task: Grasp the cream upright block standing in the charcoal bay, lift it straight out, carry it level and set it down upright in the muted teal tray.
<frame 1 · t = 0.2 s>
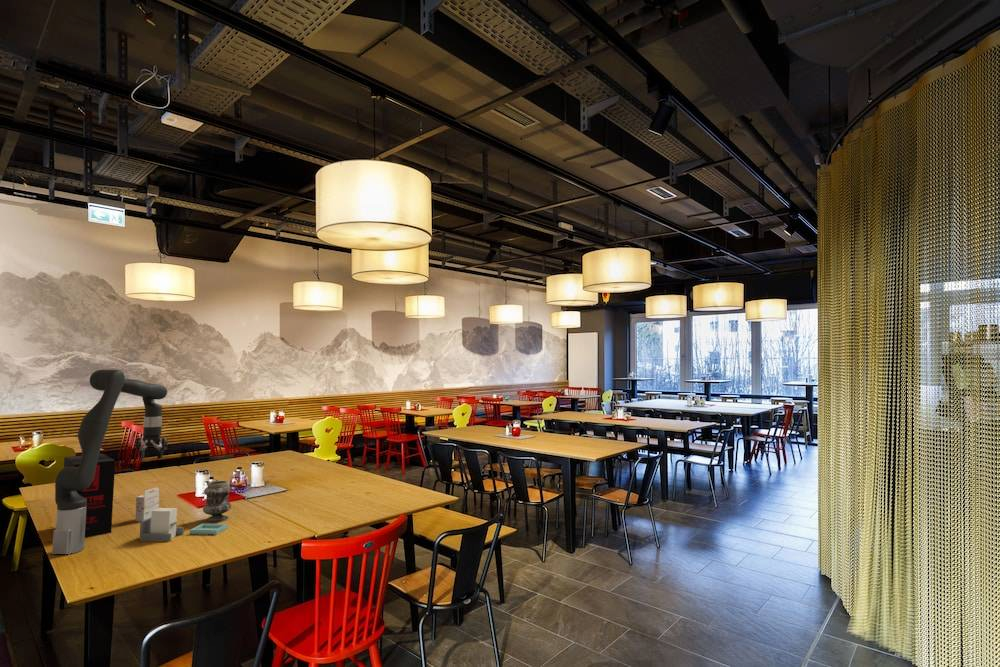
hand: (150, 458, 253), 29 cm above the table, fingers open, 8 cm apart
bay: (163, 537, 224), on the table
cream upright block: (163, 537, 224), resting in bay
apothecary jar: (216, 519, 251), on the table
tray: (209, 531, 233), on the table
product box: (85, 530, 233), on the table
ink cartridge box: (146, 519, 250), on the table
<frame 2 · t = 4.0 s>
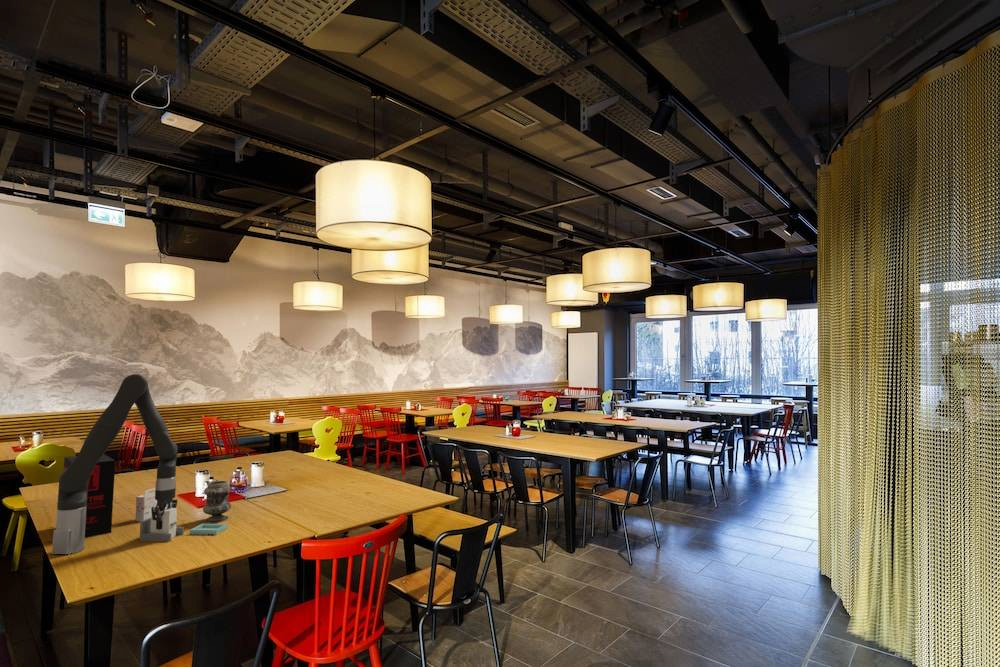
hand: (163, 527, 224), 4 cm above the table, fingers closed on cream upright block, 5 cm apart
cream upright block: (163, 537, 224), resting in bay, touching gripper
everything else where it was.
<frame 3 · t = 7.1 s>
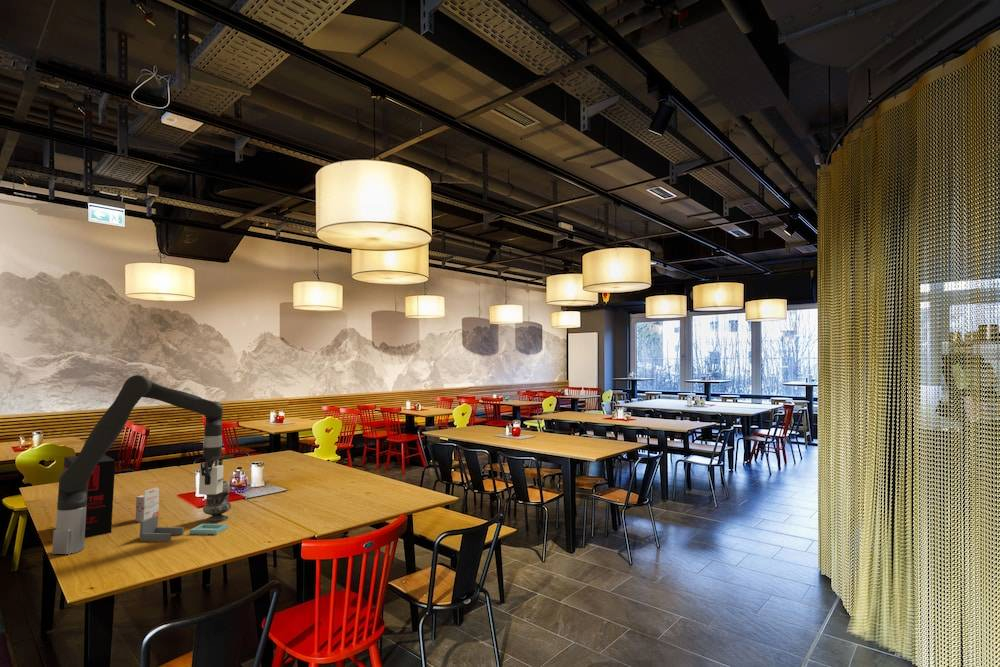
hand: (211, 483, 234), 22 cm above the table, fingers closed on cream upright block, 5 cm apart
cream upright block: (210, 493, 234), point 17 cm above the table, touching gripper
everything else where it was.
when the fingers open (6 cm above the table, at t = 10.4 s): cream upright block drops 1 cm, resting on tray.
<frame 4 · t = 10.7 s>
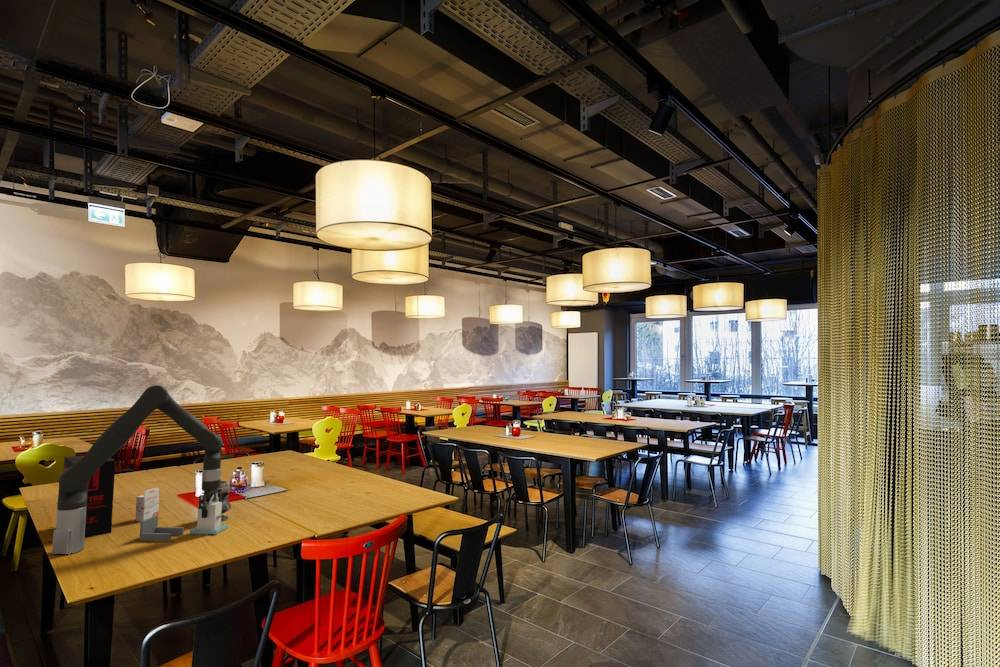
hand: (209, 515, 233), 7 cm above the table, fingers open, 8 cm apart
cream upright block: (208, 530, 233), point 1 cm above the table, touching tray
everything else where it was.
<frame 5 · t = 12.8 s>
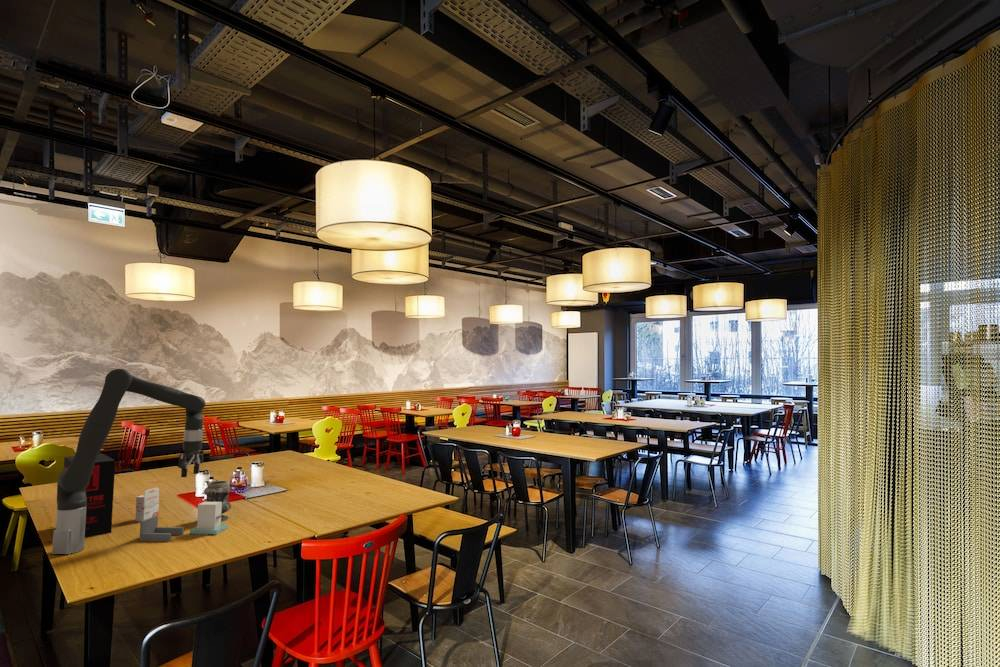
hand: (190, 475, 235), 25 cm above the table, fingers open, 8 cm apart
nothing on the table moved.
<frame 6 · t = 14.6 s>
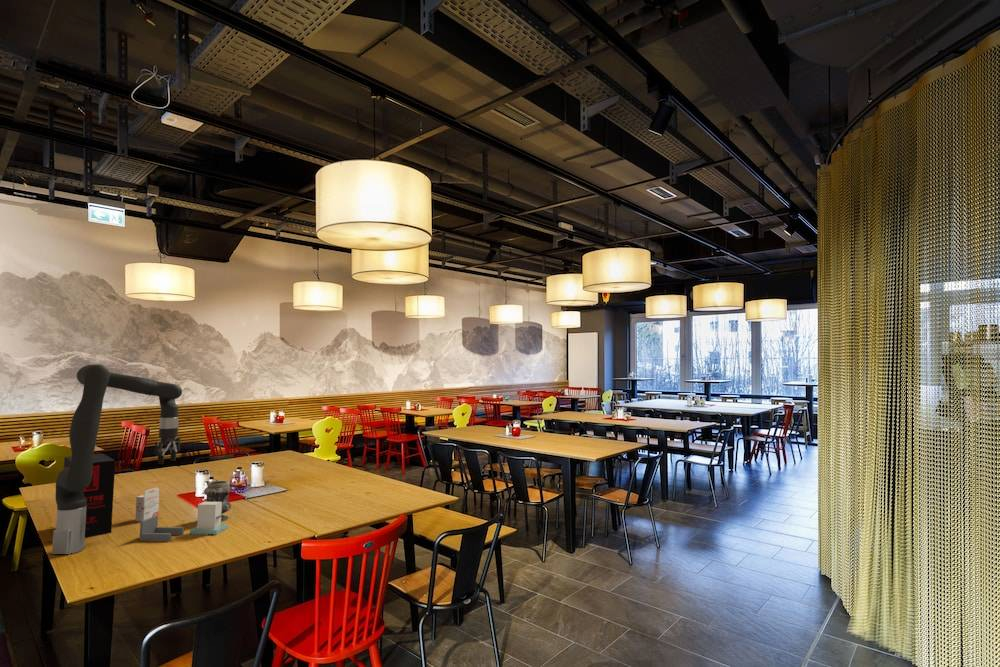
hand: (166, 462, 238), 30 cm above the table, fingers open, 8 cm apart
nothing on the table moved.
at the end: cream upright block inside the target area on the tray (0.1 cm from its centre), point 0.6 cm above the tray's base; cream upright block tilted 0°; the gripper is holding nothing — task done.
